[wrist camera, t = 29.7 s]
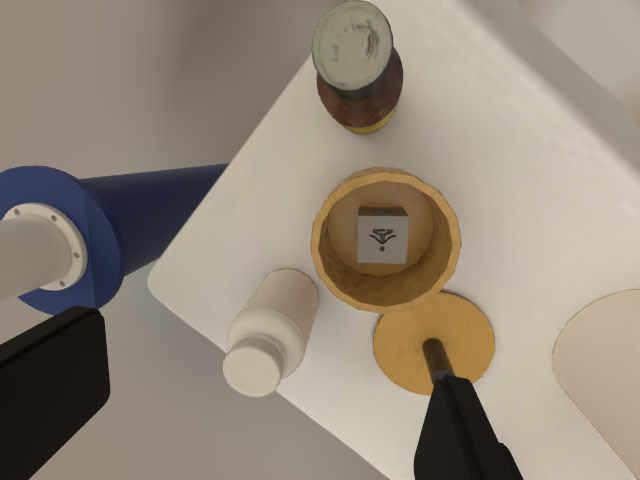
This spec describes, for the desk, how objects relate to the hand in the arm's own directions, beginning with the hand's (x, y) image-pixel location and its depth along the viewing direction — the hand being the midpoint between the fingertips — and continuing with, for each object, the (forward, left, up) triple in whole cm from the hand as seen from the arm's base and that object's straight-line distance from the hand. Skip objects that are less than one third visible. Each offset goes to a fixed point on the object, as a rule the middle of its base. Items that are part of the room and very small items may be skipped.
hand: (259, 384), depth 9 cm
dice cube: (+5, -2, -30) cm, 31 cm away
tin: (+5, -2, -30) cm, 31 cm away
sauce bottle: (+1, +11, -31) cm, 32 cm away
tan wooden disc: (+14, -16, -30) cm, 37 cm away
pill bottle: (-5, -13, -31) cm, 34 cm away
